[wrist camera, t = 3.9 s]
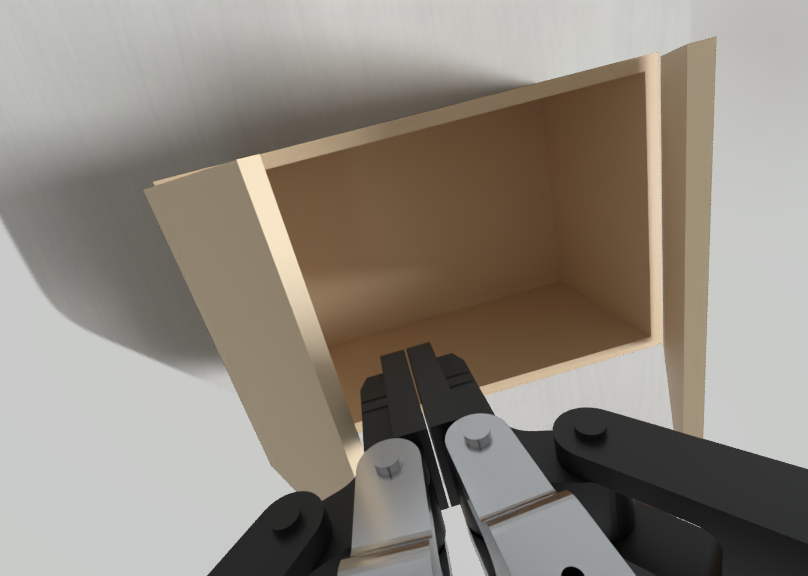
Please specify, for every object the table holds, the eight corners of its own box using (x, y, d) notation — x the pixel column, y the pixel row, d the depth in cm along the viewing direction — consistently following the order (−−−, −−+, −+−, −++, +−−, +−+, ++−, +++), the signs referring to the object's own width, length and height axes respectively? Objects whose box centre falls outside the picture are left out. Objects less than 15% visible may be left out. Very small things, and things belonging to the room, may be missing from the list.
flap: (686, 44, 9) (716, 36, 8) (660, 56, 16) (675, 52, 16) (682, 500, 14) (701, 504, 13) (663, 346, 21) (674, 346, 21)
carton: (223, 168, 25) (152, 181, 16) (545, 85, 26) (658, 51, 17) (297, 359, 30) (277, 456, 21) (566, 283, 31) (662, 343, 22)
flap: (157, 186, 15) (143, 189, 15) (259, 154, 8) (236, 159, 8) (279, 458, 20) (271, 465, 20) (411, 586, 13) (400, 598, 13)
